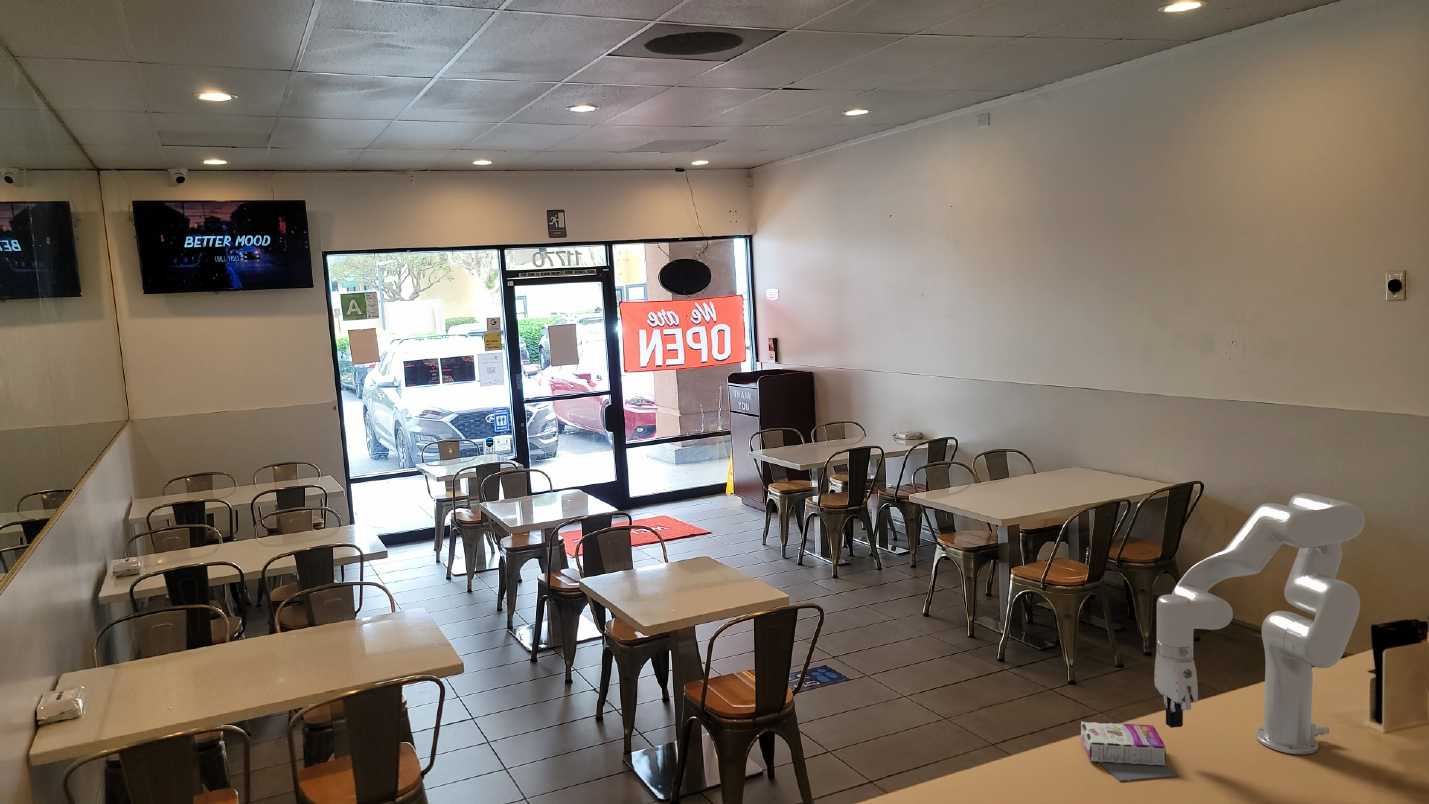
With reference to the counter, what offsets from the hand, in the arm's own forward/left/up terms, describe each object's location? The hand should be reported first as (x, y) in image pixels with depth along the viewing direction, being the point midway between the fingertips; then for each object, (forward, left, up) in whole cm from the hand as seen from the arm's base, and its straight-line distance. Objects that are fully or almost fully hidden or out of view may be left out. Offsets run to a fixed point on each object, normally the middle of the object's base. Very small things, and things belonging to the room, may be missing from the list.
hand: (1174, 725), depth 212 cm
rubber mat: (+11, +1, -8) cm, 13 cm away
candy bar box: (+3, 0, -5) cm, 6 cm away
